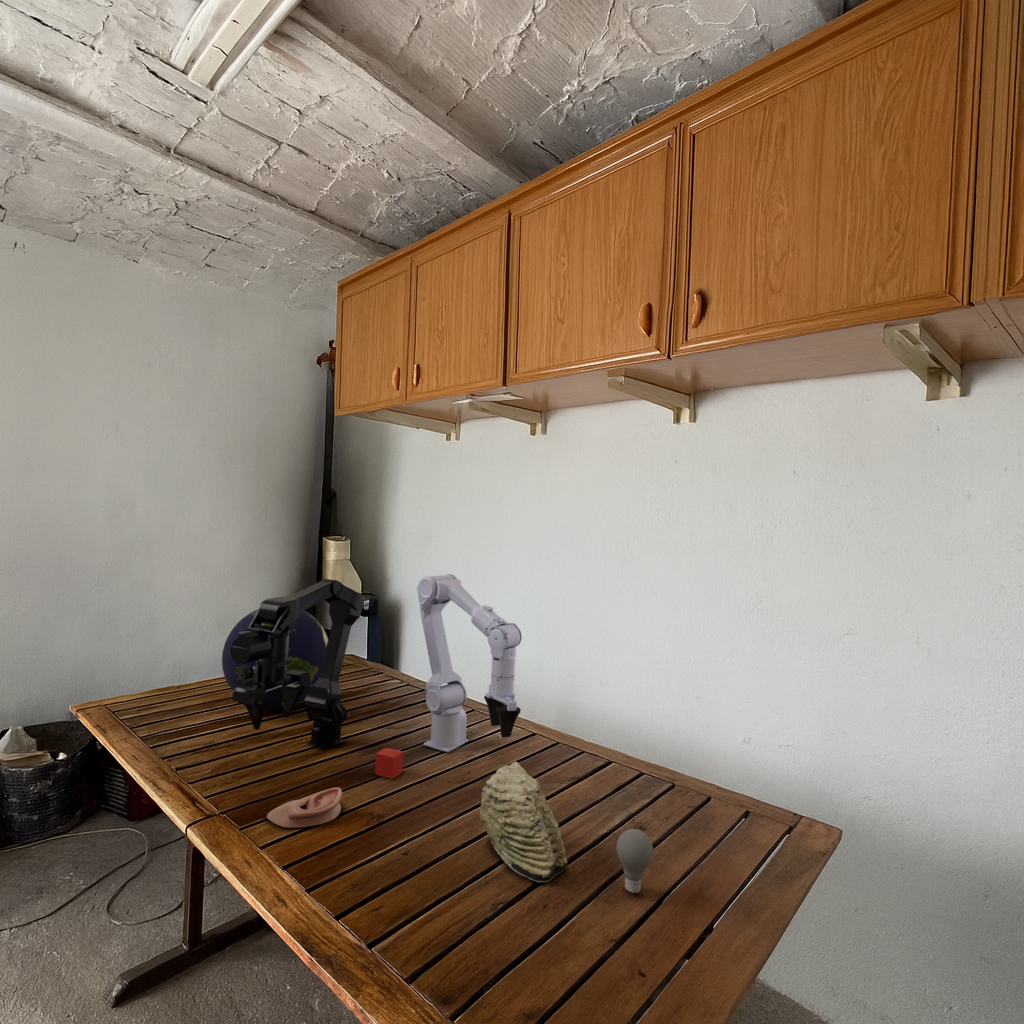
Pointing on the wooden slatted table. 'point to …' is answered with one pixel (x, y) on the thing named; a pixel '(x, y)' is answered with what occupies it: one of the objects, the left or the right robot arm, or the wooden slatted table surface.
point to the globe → (302, 650)
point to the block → (389, 763)
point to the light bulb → (634, 857)
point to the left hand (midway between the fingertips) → (271, 723)
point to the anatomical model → (308, 810)
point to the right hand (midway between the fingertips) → (500, 730)
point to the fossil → (522, 824)
